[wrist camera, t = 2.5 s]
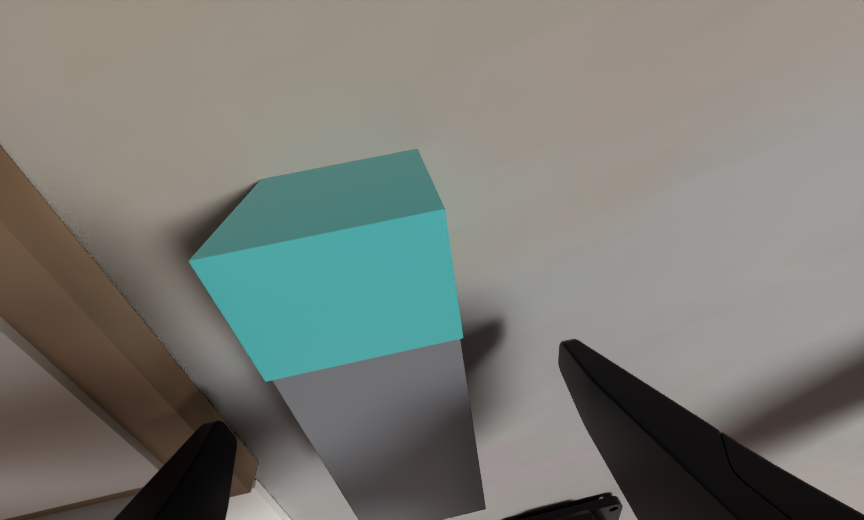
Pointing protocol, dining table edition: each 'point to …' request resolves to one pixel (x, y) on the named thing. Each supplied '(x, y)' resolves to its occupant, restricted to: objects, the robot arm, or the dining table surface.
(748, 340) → the dining table surface
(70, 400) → the clipboard
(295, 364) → the block
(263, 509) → the card
